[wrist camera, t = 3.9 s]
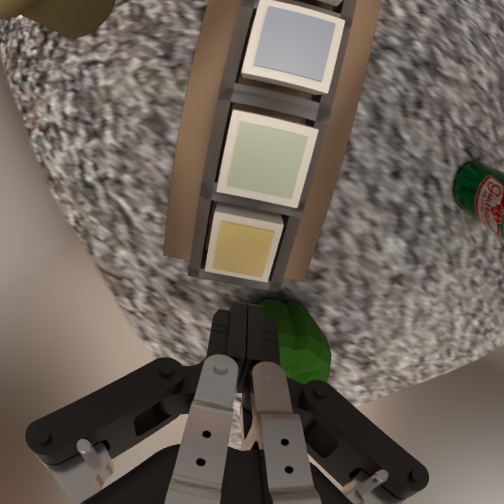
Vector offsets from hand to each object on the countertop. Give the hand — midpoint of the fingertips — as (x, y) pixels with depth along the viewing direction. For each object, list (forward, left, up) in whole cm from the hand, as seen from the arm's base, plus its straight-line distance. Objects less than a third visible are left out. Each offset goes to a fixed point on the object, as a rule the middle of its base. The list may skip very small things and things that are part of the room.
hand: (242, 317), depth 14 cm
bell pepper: (-5, +9, -12) cm, 16 cm away
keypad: (0, -10, -12) cm, 15 cm away
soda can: (-20, -9, -12) cm, 25 cm away
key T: (0, -13, -7) cm, 15 cm away
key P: (0, 0, -10) cm, 10 cm away
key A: (0, -7, -7) cm, 10 cm away
